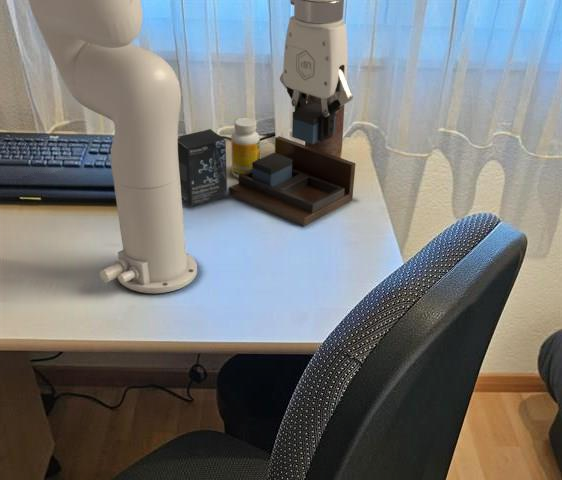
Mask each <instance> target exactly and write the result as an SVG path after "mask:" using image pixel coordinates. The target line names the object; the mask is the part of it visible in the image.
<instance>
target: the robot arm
mask: <svg viewBox="0 0 562 480" xmlns="http://www.w3.org/2000/svg"><path fill="white" fill-rule="evenodd" d="M28 3H29V8H30V11H31V13H32V15H33V19H34V20H35V22H36V25H37V27H38V29H39V31H40V33H41V36H42V38H43V40H44V43H45V45H46V46H47V49H48V51H49V53H50V55H51V58H52V60H53V61H54V64H55V66H56V68H57V71H58V73H59V75H60V77H61V79H62V82H63V84H64V85H65V86H66V88H67V90H68V91H69V93H70V95H71V96H72V97H73V98H74V99H75V101H77V102H78V103H79V104H80V105H81V106H83V107H85V108H86V109H88V110H90V111H92V112H94V113H95V114H99V115H101V116H103V117H105V118H106V119H107V120H111V121H112V122H113V124H114V134H113V139H112V142H111V147H110V156H109V157H110V158H109V159H110V169H111V175H112V181H113V187H114V188H113V189H114V194H115V201H116V209H117V215H118V223H119V230H120V237H121V243H122V250H120V251H118V252H117V257H118V259H117V260H115V262H114V264H112V265H110V266H108V267H106V268H103V269H101V270H100V271H99V276H100V278H101V280H102V282H103V283H109V282H111V281H113V280H115V279H117V280H118V282H119V283H120V284H121V285H122V286H124V287H125V288H127V289H129V290H131V291H135V292H137V293H138V292H139V293H143V294H165V293H170V292H174V291H179V290H180V289H183V288H184V287H186V286H188V285H189V284H190V283H192V282H193V281H194V280H195V279H196V277H197V274H198V265H197V262H196V259H194V257H193V256H192V255H190V254H188V253H187V250H186V237H185V235H186V234H185V224H184V210H183V201H182V197H181V185H180V172H179V161H178V136H179V120H180V113H181V112H180V111H181V101H182V95H181V93H182V92H181V86H180V82H179V79H178V77H177V74H176V72H175V71H174V69H173V68H172V66H171V65H170V64H169V62H167V61H166V60H165V59H163V58H162V57H161V56H160V55H158V54H156V53H154V52H152V51H150V50H149V49H146V48H144V47H141V46H137V45H135V44H132V43H133V42H134V41H135V40H137V38H138V36H139V34H140V32H141V29H142V26H143V18H144V17H143V16H144V14H143V6H142V1H141V0H28ZM289 3H290V5H291V6H293V15H292V16H290V17H289V21H288V25H287V29H286V35H285V41H284V42H285V43H284V52H283V66H282V68H283V69H282V73H281V75H280V77H279V81H280V83H281V84H282V85H283V87H284V88H285V89H286V92H287V94H288V96H289V98H290V100H291V102H290V103H291V106H292V107H293V108H294V111H297V110H299V109H302V108H304V107H306V106H309V103H307V99H308V94H309V95H312V96H315V97H318V98H321V106H322V113H323V115H321V116H320V117H319V137H318V139H319V141H324V140H327V139H329V138H331V137H332V136H333V131H334V116H335V113H337V112H338V110H339V109H340V108H341V107H342V106H343V105H344V106H345V105H346V104H348V103H350V102H351V101H353V97H354V96H353V93H352V91H351V88H350V87H349V83H348V66H349V65H348V64H349V63H348V57H349V55H348V54H349V53H348V35H347V26H346V25H347V24H346V22H344V10H345V9H344V8H345V7H344V6H345V0H289ZM337 92H339V93H340V97H339V98H338V99H337ZM328 98H329V99H330V105H329V99H328Z"/></svg>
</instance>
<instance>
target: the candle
mask: <svg viewBox="0 0 562 480" xmlns="http://www.w3.org/2000/svg"><path fill="white" fill-rule="evenodd" d="M339 97H340V93H339V92H337V99H338V98H339ZM328 99H329V98H328ZM306 103H309V105H311V104H313V103H318V104H321V98H318V97H315V96H312V95H309V94H308V99H307V102H306ZM329 105H330V99H329ZM335 116H336V120H335V134H333V136H332V137H331V138H329V139H327V140H324V141H318V142H316V143H314V144H311V143H308V142H305V141H304V145H305V146H308V147H311V148H314V149H317V150H320V151H322V152H325V153H328V154H331V155H334V156H336V157H339V158H342V154H343V153H342V151H343V138H344V137H343V136H344V120H345V119H344V118H345V104H344V105H343V106H342V107H341V108H340V109H339V110H338V112H337V113H336V115H335Z"/></svg>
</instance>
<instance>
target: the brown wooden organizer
mask: <svg viewBox="0 0 562 480" xmlns="http://www.w3.org/2000/svg"><path fill="white" fill-rule="evenodd" d="M274 153H276V154H279V155H282V156H285V157H287V158H290V159H292V178H290V179H288V180H286V181H284V182H282V183H280V184H278V185H276V186H274V187H273V186H270V185H268V184H265V183H263V182H260V181H258V180H255V179H253V178H252V170H249V171H247V172H245V173H243V174H240V175H239V178H238V182H237V183H235V184H233V185H231V186H229V187H228V196H229V197H233V198H235V199H237V200H240V201H242V202H245V203H246V204H249V205H252V206H254V207H256V208H259V209H261V210H264V211H266V212H267V213H268V212H269V213H271V214H273V215H275V216H278V217H280V218H283V219H285V220H287V221H290V222H293V223H294V224H297V225H300V226H302V227H306V226H307V225H309V224H311V223H313V222H315V221H317V220H319V219H320V218H322V217H324V216H326V215H328V214H329V213H332V212H333V211H335V210H337V209H339V208H341V207H342V206H345V205H346V204H348V203H350V202H352V201H353V197H354V188H355V187H354V186H355V176H356V165H357V164H356V162H354V161H350V160H348V159H344V158H342V157H341V158H339V157H336V156H334V155H331V154H328V153H325V152H322V151H320V150H317V149H314V148H311V147H308V146H305V144H303V143H299V142H297V141H294V140H291V139H288V138H286V137H283V136H280V135H279V136H276V137H274Z"/></svg>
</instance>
